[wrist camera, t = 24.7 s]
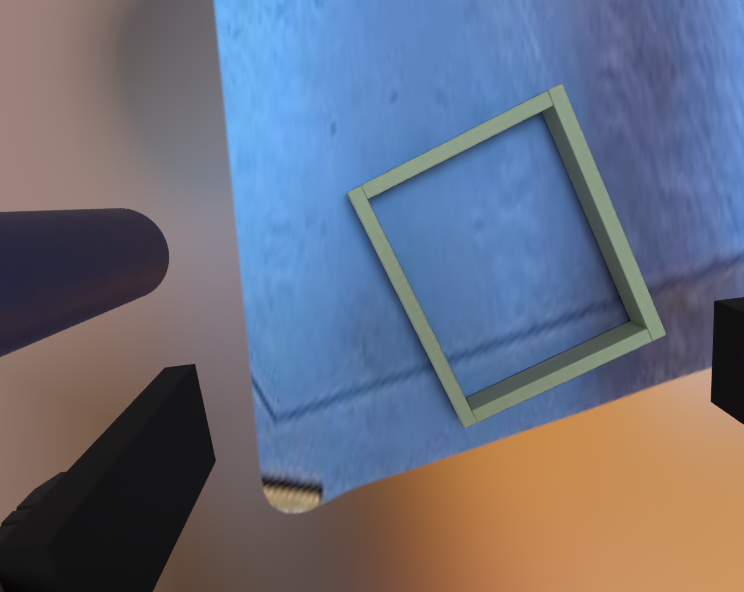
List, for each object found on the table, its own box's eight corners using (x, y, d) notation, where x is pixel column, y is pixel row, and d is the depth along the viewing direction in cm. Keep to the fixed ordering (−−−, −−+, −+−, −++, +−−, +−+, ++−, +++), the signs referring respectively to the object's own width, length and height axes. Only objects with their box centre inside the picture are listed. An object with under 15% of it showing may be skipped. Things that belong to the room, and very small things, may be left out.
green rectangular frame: (458, 414, 40) (464, 429, 38) (348, 192, 37) (346, 192, 35) (648, 326, 39) (666, 335, 36) (549, 90, 36) (562, 82, 34)
